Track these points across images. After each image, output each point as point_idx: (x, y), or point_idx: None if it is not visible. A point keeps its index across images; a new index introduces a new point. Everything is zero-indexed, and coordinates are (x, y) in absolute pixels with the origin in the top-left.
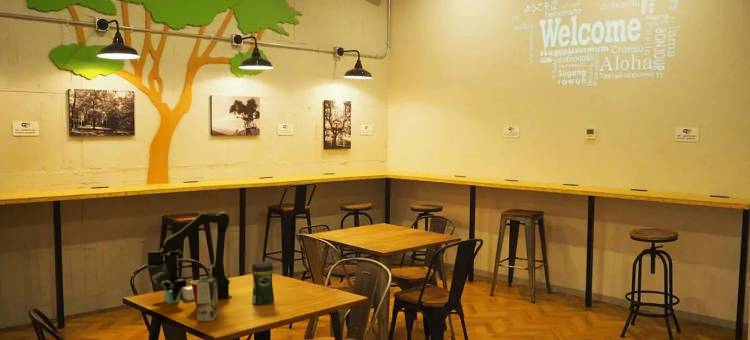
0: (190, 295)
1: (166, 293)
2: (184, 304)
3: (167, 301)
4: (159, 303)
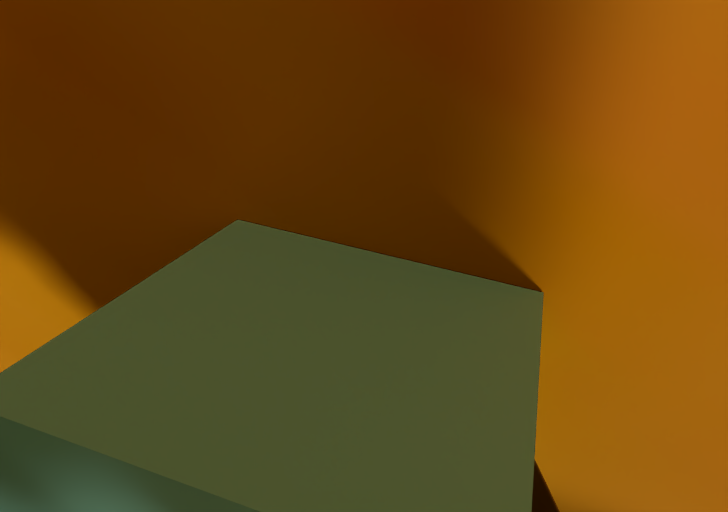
0: None
1: (270, 426)
2: (5, 355)
3: (317, 257)
4: (461, 50)
